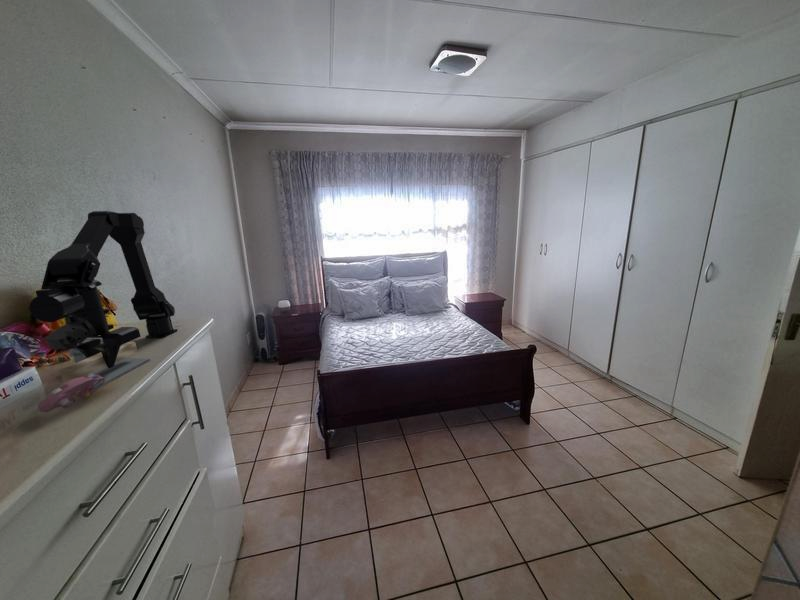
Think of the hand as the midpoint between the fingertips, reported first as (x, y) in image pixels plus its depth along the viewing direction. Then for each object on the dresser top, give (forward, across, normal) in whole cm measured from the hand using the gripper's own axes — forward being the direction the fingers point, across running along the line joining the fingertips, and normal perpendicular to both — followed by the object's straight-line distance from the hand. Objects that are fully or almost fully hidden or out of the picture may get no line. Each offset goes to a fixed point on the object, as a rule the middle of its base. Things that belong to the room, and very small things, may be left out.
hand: (105, 367), depth 79 cm
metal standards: (+2, -8, +8) cm, 12 cm away
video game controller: (+2, +5, -12) cm, 13 cm away
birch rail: (0, 0, 0) cm, 0 cm away
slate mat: (+2, 0, 0) cm, 2 cm away
